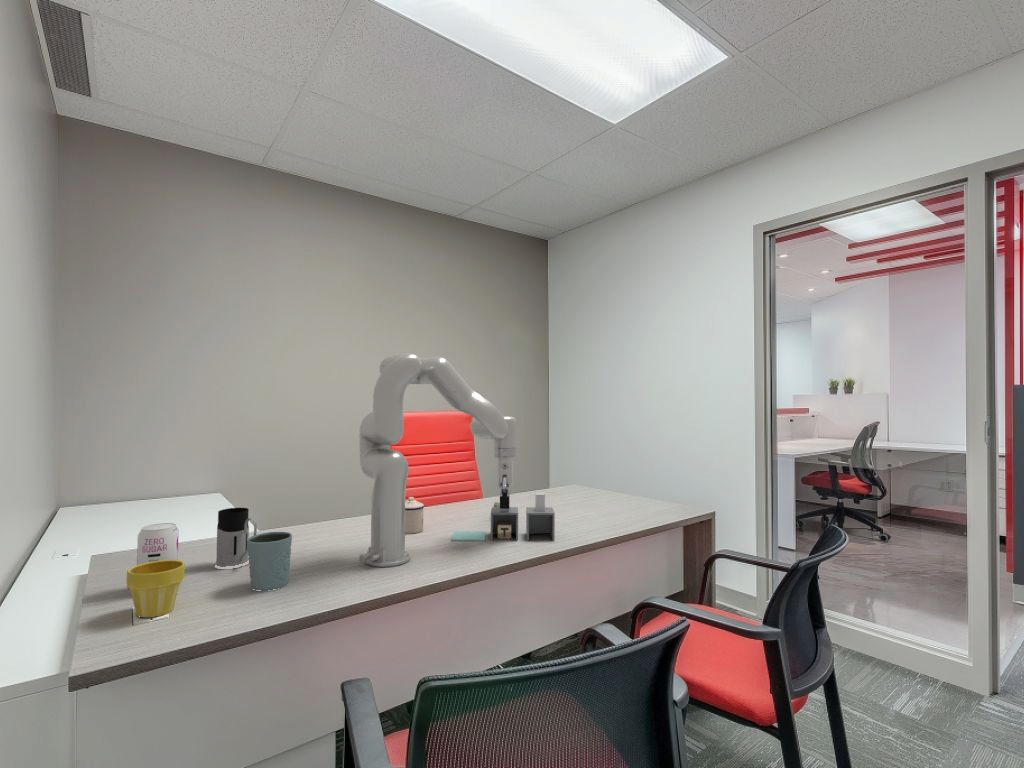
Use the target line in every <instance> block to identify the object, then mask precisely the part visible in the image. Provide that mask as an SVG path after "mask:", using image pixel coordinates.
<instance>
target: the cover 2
mask: <svg viewBox="0 0 1024 768" xmlns="http://www.w3.org/2000/svg"><path fill="white" fill-rule="evenodd" d="M534 503H535V507H533V506H532V507H530V506H529V507H528V506H527V507H526V510H525V511H526V512H525V514H526V517H525V518H526V519H525V521H526V522H525V523H526V525H525V528H526V529H525V533H526V535H527V536H526V541H527V540H529V541H530V534H529V533H551V534H550V536H552V537H551V540H552V539H553V540H554V541H555V528H556V527H555V510H554V509H553V507H552V506H551V507H547V506H546V493H545V492H535V502H534ZM553 540H552V541H553Z"/></svg>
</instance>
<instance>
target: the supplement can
mask: <svg viewBox="0 0 1024 768" xmlns="http://www.w3.org/2000/svg"><path fill="white" fill-rule="evenodd" d="M179 534H180V533H179V528H178V527H177V524H176V523H173V522H163V523H162V522H161V523H153V524H148V525H144V526H143V527H141V528H140V531H139V533H138V534H137V550H136V551H137V556H136V557H137V560H136V566H137V565H140V564H143V563H148V562H153V561H160V560H179Z"/></svg>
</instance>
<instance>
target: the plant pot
mask: <svg viewBox="0 0 1024 768" xmlns="http://www.w3.org/2000/svg"><path fill="white" fill-rule="evenodd" d="M185 567H186V564H185V561H182V560H179V559H178V560H160V561H153V562H148V563H143V564H140V565H137V564H136V565H134V566H131V567H130V568H128V570H127V571H126V587H127V588H128V589H130V593H131V597H132V601H133V607H134V611H135V615H136V617H138V616H140V617H151V618H156V617H155V616H157V617H160V616H159V615H161V616H163V615H162V614H164V615H166V614H165V613H167V614H169V613H171V612H172V611H173V610H174V608H175V603H176V600H177V596H178V592H179V587H180V584H181V582H182V581H183V580H184V579H185V571H186V568H185ZM140 617H139V618H140Z"/></svg>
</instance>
